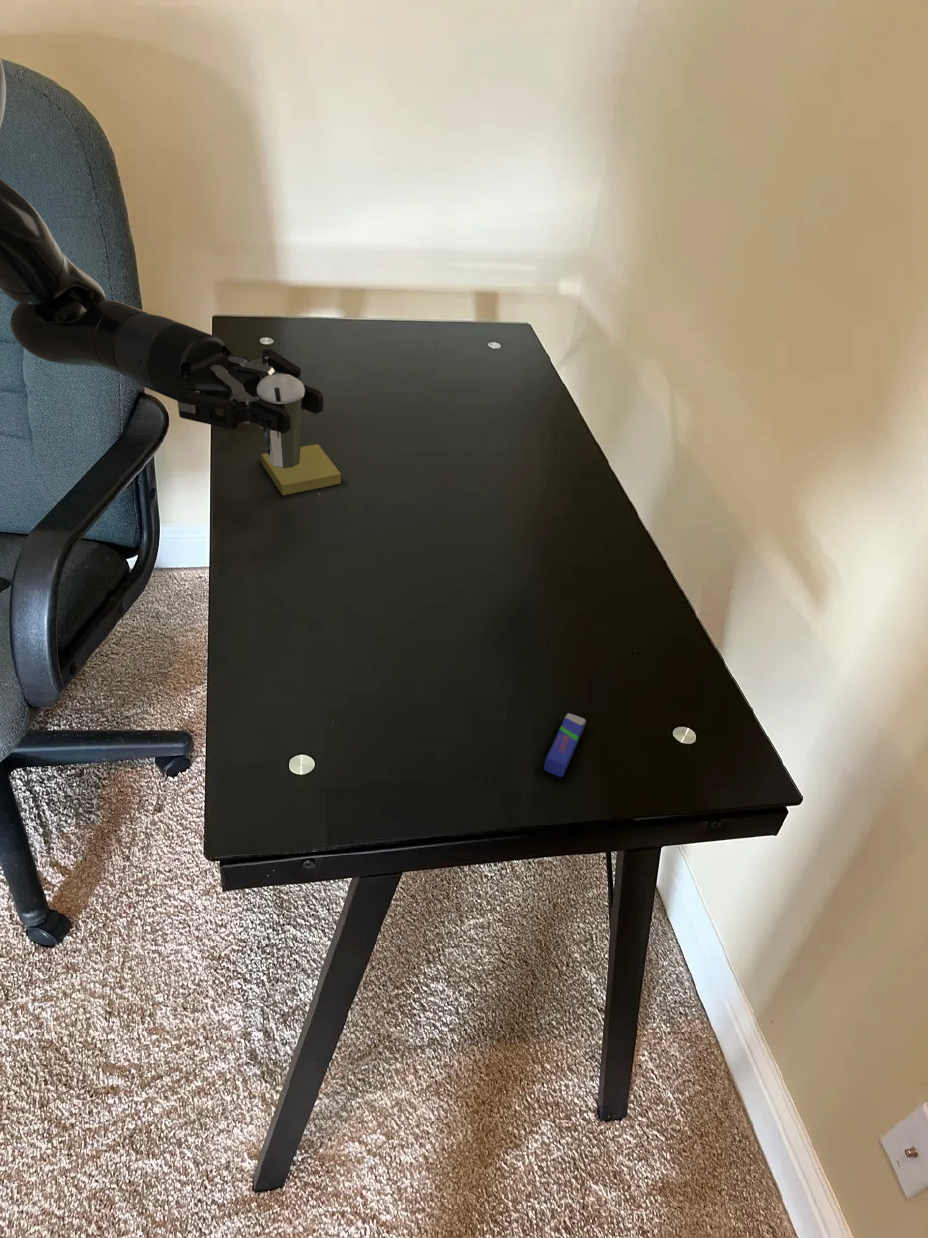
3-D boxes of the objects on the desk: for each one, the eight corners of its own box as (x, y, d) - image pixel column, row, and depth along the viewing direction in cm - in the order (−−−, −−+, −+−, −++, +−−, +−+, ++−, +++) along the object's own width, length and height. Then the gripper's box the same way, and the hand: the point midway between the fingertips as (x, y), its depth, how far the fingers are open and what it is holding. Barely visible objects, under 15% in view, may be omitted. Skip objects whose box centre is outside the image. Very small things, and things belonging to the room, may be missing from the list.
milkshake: (258, 475, 83) (251, 385, 76) (264, 446, 87) (258, 358, 80) (304, 478, 84) (301, 388, 77) (308, 449, 88) (305, 361, 81)
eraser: (583, 733, 77) (587, 719, 75) (562, 779, 72) (566, 765, 71) (563, 725, 77) (567, 711, 76) (541, 771, 73) (545, 756, 71)
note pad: (282, 495, 100) (282, 485, 99) (261, 464, 105) (261, 453, 104) (341, 483, 103) (341, 473, 102) (318, 453, 108) (318, 443, 107)
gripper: (112, 346, 78) (253, 404, 73) (217, 304, 88) (349, 353, 83) (125, 417, 83) (258, 477, 78) (223, 370, 93) (347, 420, 88)
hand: (304, 413), depth 80 cm, fingers closed on milkshake, 4 cm apart
